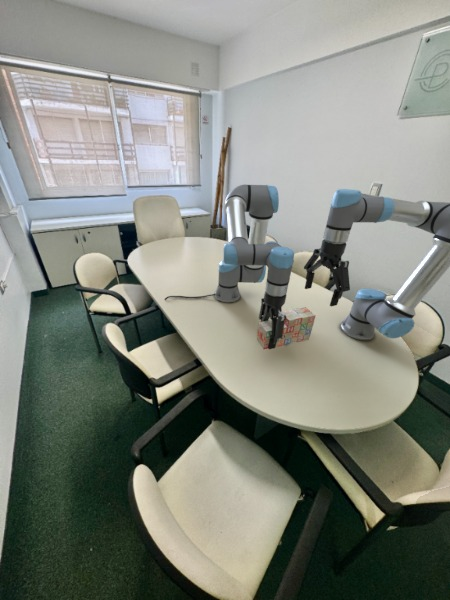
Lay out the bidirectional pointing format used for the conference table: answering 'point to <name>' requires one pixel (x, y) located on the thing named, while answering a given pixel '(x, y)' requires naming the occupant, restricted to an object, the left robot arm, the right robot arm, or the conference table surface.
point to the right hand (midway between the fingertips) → (319, 296)
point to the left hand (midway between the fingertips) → (267, 342)
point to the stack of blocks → (288, 328)
